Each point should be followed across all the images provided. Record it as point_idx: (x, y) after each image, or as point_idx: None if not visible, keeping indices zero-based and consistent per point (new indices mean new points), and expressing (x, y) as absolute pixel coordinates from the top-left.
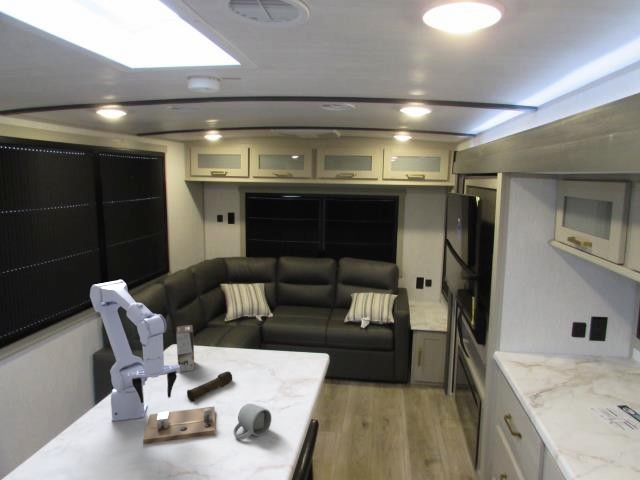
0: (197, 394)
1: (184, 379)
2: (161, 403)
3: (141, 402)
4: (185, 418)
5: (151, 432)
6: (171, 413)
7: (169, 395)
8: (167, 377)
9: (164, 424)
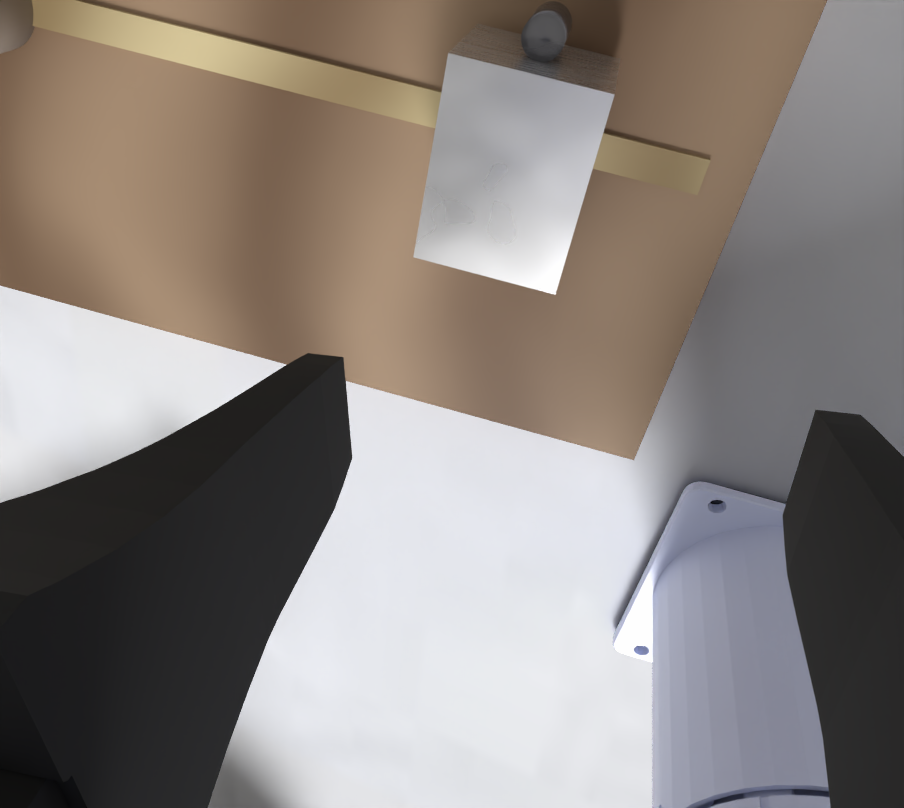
0: None
1: (289, 790)
2: (487, 607)
3: (860, 419)
4: (260, 180)
5: (709, 35)
6: (409, 364)
7: (300, 367)
8: (174, 751)
9: (515, 48)
